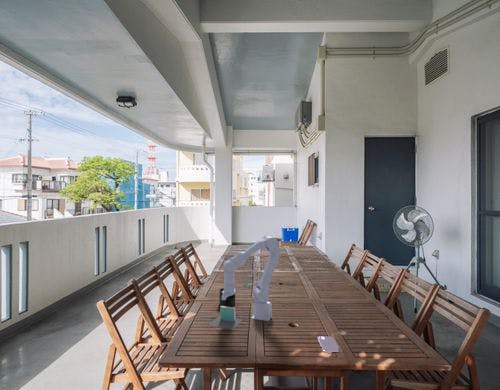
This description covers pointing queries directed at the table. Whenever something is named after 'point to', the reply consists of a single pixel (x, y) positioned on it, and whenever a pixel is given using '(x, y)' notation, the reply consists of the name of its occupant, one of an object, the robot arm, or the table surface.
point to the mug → (222, 302)
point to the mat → (225, 323)
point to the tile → (227, 313)
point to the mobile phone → (328, 344)
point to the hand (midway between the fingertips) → (229, 309)
